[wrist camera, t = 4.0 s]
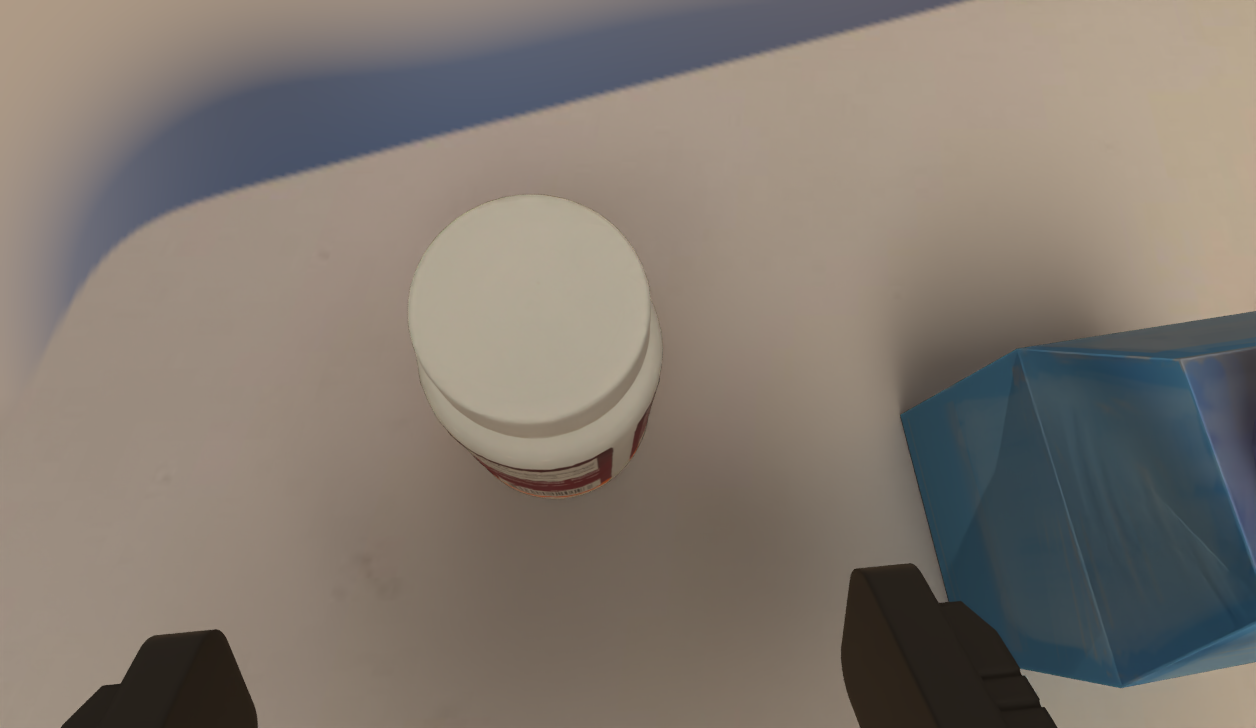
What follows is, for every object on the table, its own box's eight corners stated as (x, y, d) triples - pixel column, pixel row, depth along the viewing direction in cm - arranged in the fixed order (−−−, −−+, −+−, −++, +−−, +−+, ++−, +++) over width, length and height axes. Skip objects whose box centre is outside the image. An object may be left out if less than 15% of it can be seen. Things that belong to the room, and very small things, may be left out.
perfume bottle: (963, 657, 20) (1475, 757, 8) (900, 414, 21) (1254, 213, 10) (1196, 613, 20) (1987, 650, 9) (1117, 379, 22) (1697, 149, 10)
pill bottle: (554, 290, 22) (527, 119, 14) (683, 406, 21) (734, 297, 13) (427, 414, 21) (319, 306, 13) (557, 541, 20) (531, 511, 12)
